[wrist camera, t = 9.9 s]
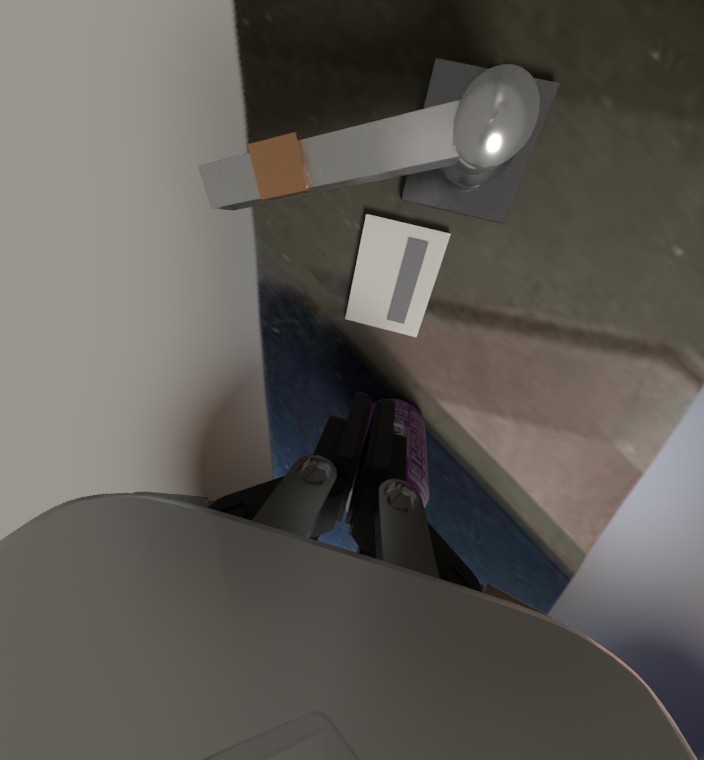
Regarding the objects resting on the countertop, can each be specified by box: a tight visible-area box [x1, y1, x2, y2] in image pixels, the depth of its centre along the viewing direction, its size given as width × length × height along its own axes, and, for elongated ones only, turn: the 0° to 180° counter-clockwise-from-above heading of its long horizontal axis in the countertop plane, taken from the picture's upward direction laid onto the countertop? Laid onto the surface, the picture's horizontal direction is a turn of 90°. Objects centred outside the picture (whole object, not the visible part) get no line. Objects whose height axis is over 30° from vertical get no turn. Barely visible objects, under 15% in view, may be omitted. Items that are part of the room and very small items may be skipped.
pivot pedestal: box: [401, 58, 560, 223], centre depth 20 cm, size 8×8×4 cm
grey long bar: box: [198, 64, 540, 210], centre depth 18 cm, size 20×4×4 cm, turn 98°
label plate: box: [345, 214, 451, 337], centre depth 26 cm, size 9×7×1 cm
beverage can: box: [346, 399, 429, 513], centre depth 29 cm, size 7×7×12 cm
